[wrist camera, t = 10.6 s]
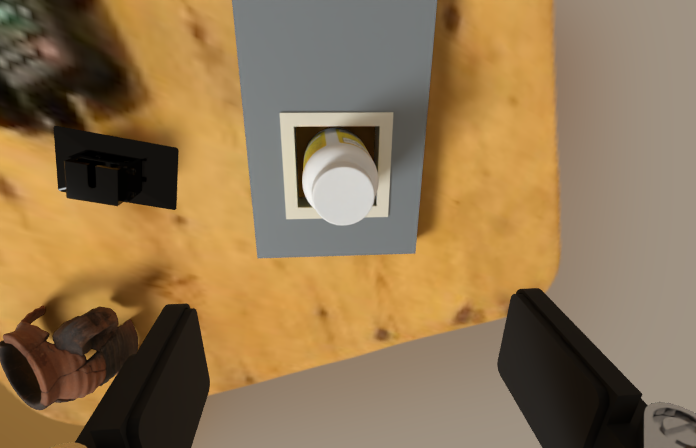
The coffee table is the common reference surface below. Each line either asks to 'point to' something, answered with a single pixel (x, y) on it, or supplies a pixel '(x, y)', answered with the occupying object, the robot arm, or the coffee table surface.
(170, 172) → the black stand
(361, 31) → the board
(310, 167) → the supplement bottle
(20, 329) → the pottery mug
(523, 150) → the coffee table surface
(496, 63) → the coffee table surface
